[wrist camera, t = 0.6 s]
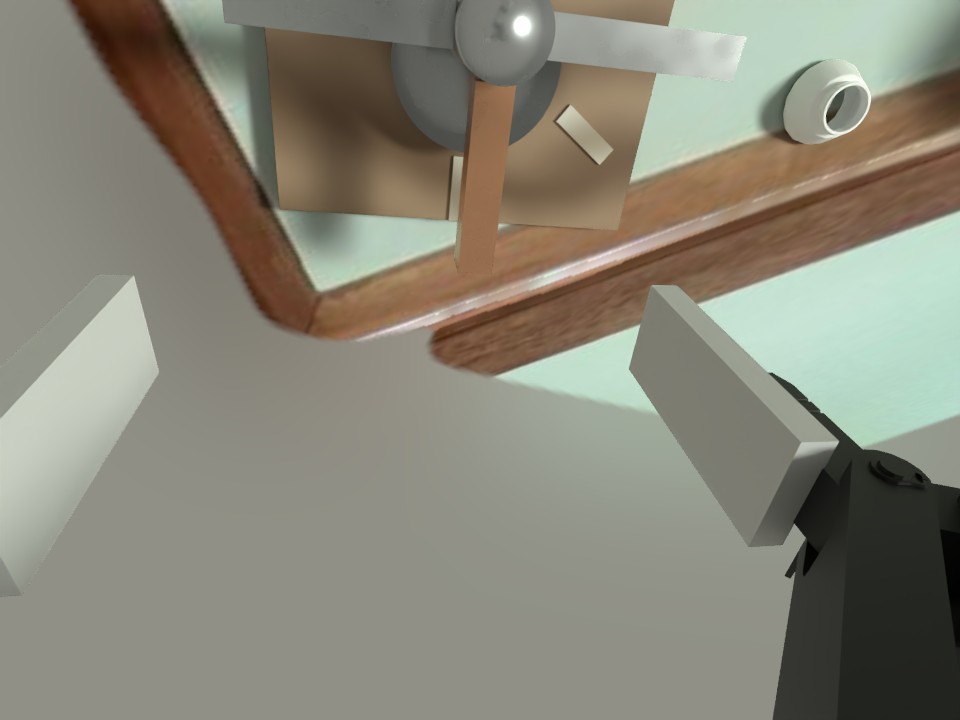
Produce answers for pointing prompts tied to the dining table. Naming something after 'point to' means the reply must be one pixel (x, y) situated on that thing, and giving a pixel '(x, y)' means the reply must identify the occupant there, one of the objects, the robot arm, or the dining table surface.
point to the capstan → (491, 74)
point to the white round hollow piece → (825, 102)
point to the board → (434, 168)
